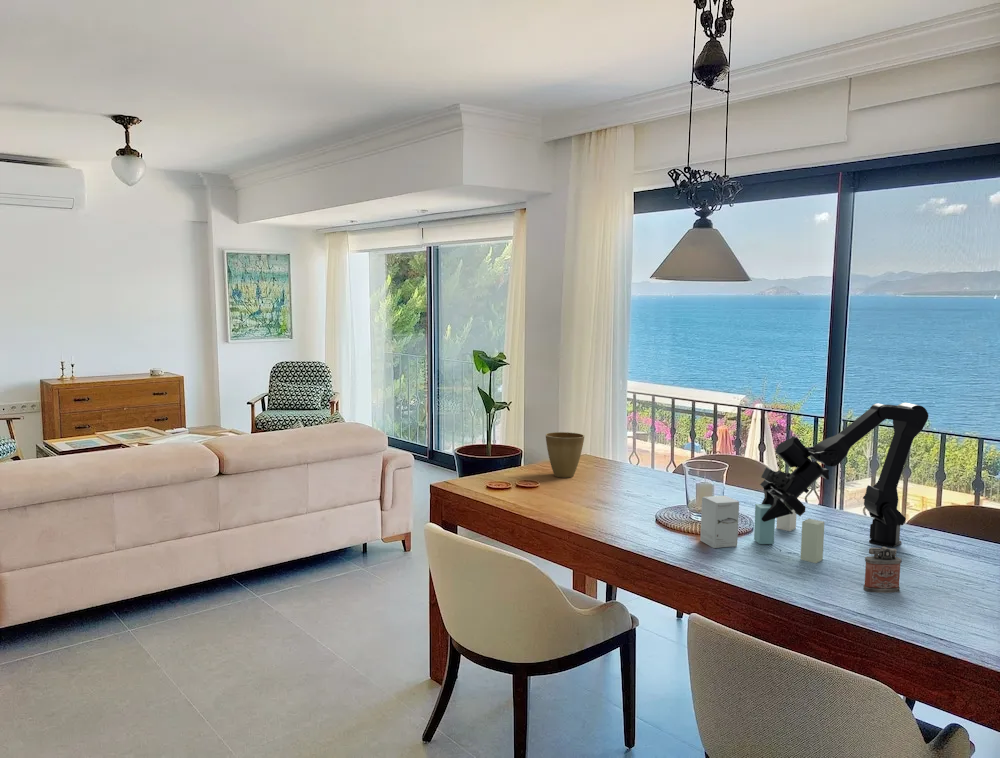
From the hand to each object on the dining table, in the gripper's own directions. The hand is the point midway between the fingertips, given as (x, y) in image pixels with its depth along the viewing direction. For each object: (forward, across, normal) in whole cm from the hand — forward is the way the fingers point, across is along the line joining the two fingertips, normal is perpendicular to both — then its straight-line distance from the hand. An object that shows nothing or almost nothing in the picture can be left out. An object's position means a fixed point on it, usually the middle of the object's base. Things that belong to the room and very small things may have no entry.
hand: (759, 518), depth 203 cm
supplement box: (+13, +1, -3) cm, 13 cm away
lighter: (-6, +34, +16) cm, 39 cm away
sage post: (-1, +14, +11) cm, 18 cm away
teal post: (+4, 0, +6) cm, 7 cm away
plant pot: (+37, -82, -27) cm, 94 cm away
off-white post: (-4, -14, +14) cm, 20 cm away
